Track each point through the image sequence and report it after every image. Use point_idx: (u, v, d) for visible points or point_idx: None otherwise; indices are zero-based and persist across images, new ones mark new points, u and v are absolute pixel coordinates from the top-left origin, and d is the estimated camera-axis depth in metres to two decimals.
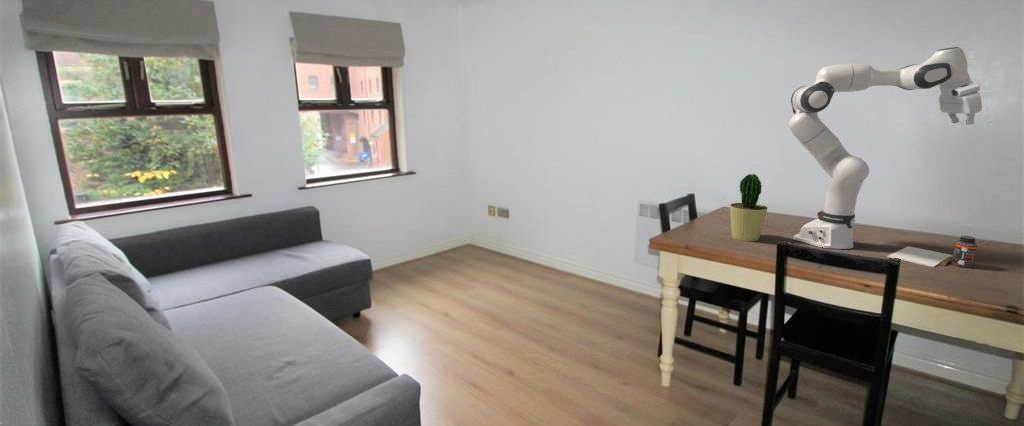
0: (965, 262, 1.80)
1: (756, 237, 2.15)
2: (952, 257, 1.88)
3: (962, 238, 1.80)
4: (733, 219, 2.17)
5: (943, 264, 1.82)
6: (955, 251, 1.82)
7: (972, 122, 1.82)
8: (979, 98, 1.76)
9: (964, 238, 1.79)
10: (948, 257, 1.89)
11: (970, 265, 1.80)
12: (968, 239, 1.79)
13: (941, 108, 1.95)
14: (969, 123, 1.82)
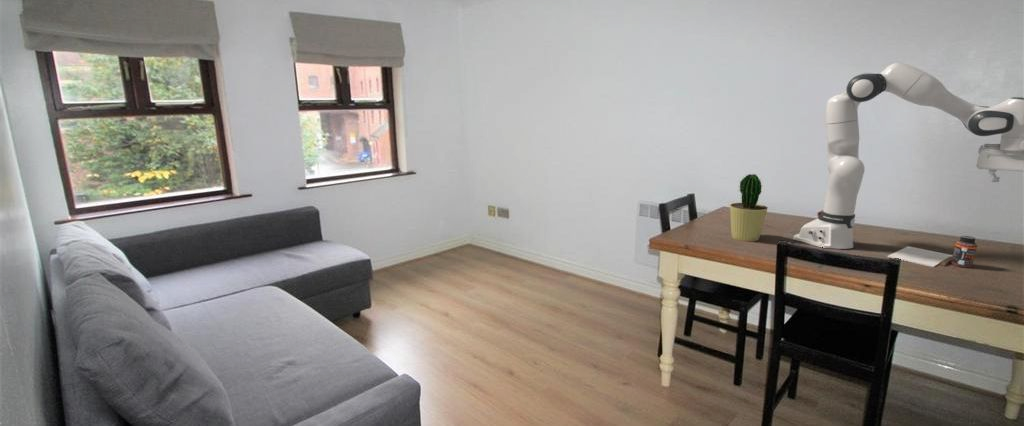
0: (965, 262, 1.80)
1: (756, 237, 2.15)
2: (952, 257, 1.88)
3: (962, 238, 1.80)
4: (733, 219, 2.17)
5: (943, 264, 1.82)
6: (955, 251, 1.82)
7: None
8: None
9: (964, 238, 1.79)
10: (948, 257, 1.89)
11: (970, 265, 1.80)
12: (968, 239, 1.79)
13: (980, 164, 1.77)
14: None
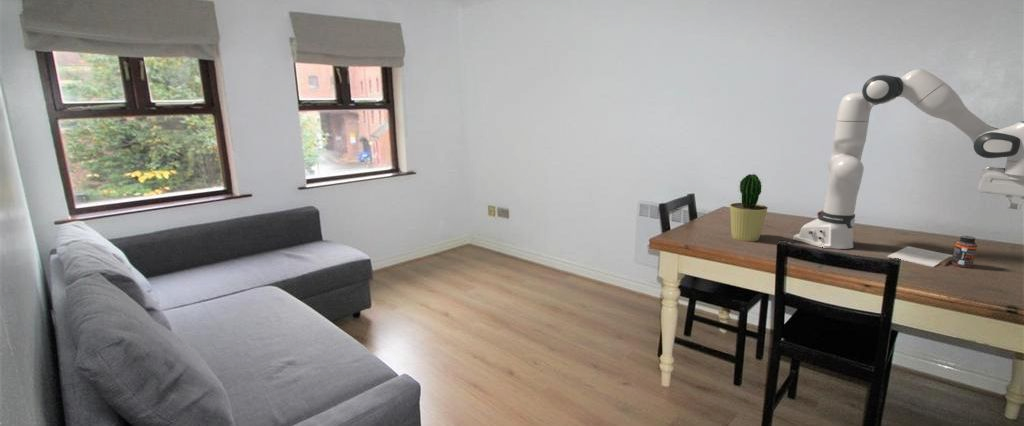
0: (965, 262, 1.80)
1: (756, 237, 2.15)
2: (952, 257, 1.88)
3: (962, 238, 1.80)
4: (733, 219, 2.17)
5: (943, 264, 1.82)
6: (955, 251, 1.82)
7: (1020, 207, 1.68)
8: None
9: (964, 238, 1.79)
10: (948, 257, 1.89)
11: (970, 265, 1.80)
12: (968, 239, 1.79)
13: (982, 187, 1.73)
14: (1019, 208, 1.67)
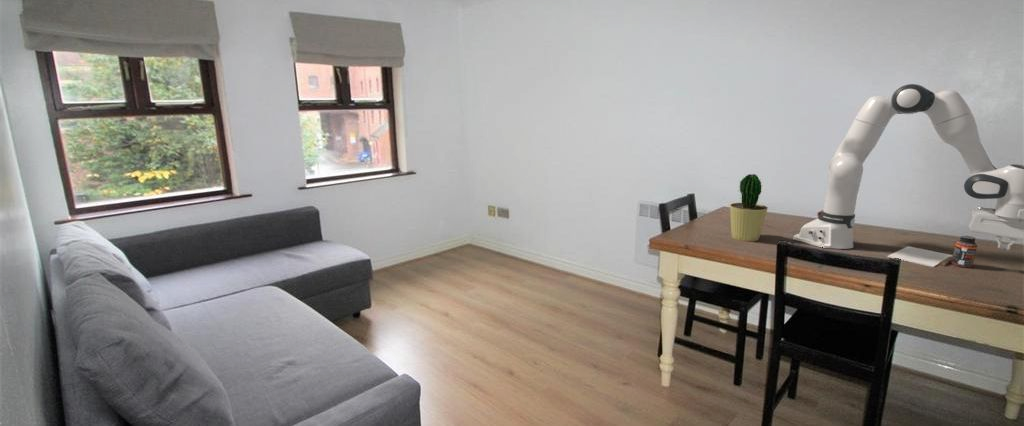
0: (965, 262, 1.80)
1: (756, 237, 2.15)
2: (952, 257, 1.88)
3: (962, 238, 1.80)
4: (733, 219, 2.17)
5: (943, 264, 1.82)
6: (955, 251, 1.82)
7: (1009, 248, 1.71)
8: None
9: (964, 238, 1.79)
10: (948, 257, 1.89)
11: (970, 265, 1.80)
12: (968, 239, 1.79)
13: (973, 227, 1.77)
14: (1009, 248, 1.71)
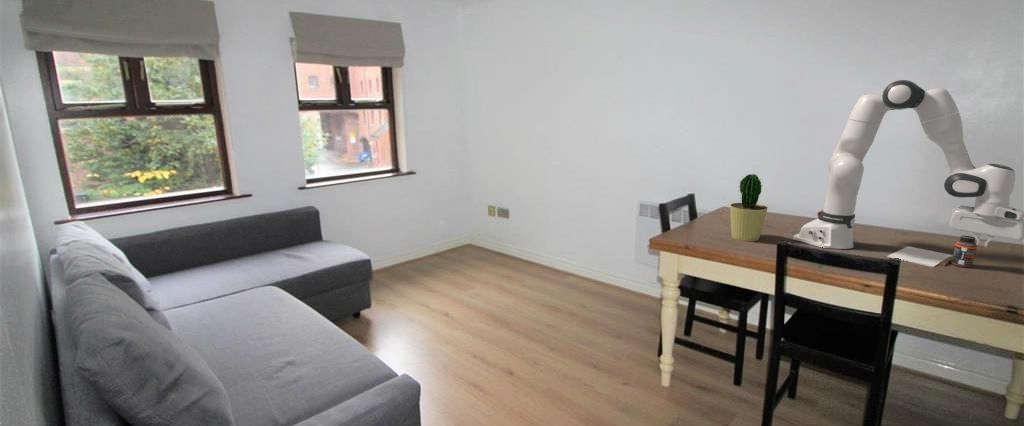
0: (965, 262, 1.80)
1: (756, 237, 2.15)
2: None
3: (962, 238, 1.80)
4: (733, 219, 2.17)
5: (943, 264, 1.82)
6: (955, 251, 1.82)
7: (987, 245, 1.76)
8: None
9: (964, 238, 1.80)
10: (948, 257, 1.89)
11: (970, 265, 1.80)
12: (968, 239, 1.79)
13: (953, 224, 1.81)
14: (986, 245, 1.75)
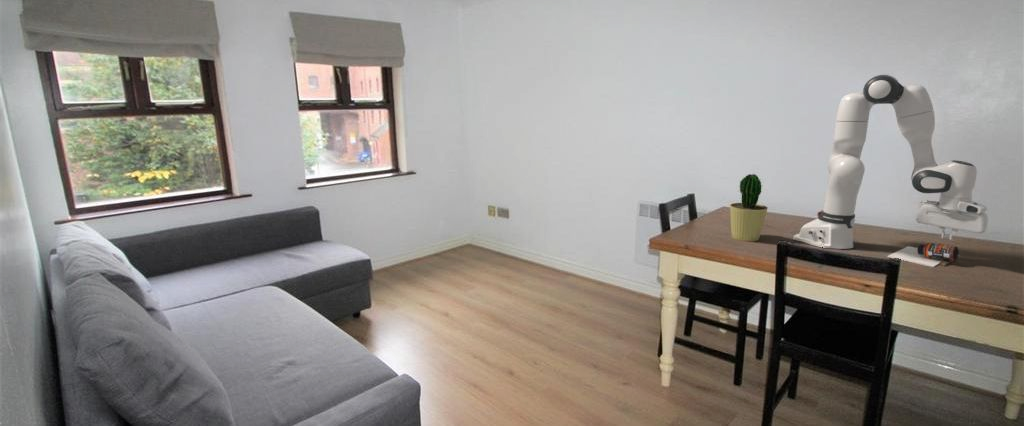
0: (946, 252, 1.83)
1: (756, 237, 2.15)
2: None
3: (919, 253, 1.91)
4: (733, 219, 2.17)
5: (943, 264, 1.82)
6: (936, 258, 1.87)
7: None
8: (987, 219, 1.76)
9: (918, 252, 1.91)
10: None
11: (951, 248, 1.82)
12: (918, 250, 1.91)
13: (920, 219, 1.90)
14: (951, 238, 1.84)
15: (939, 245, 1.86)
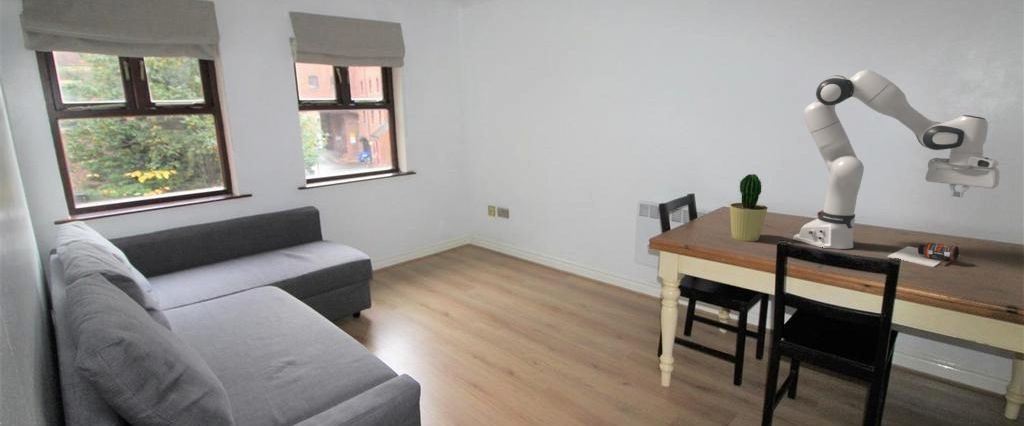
0: (946, 251, 1.83)
1: (756, 237, 2.15)
2: None
3: (920, 253, 1.91)
4: (733, 219, 2.17)
5: (943, 264, 1.82)
6: (936, 258, 1.87)
7: (962, 195, 1.80)
8: None
9: (919, 252, 1.91)
10: None
11: (952, 247, 1.83)
12: (919, 249, 1.91)
13: (929, 177, 1.86)
14: (961, 196, 1.80)
15: (940, 244, 1.86)
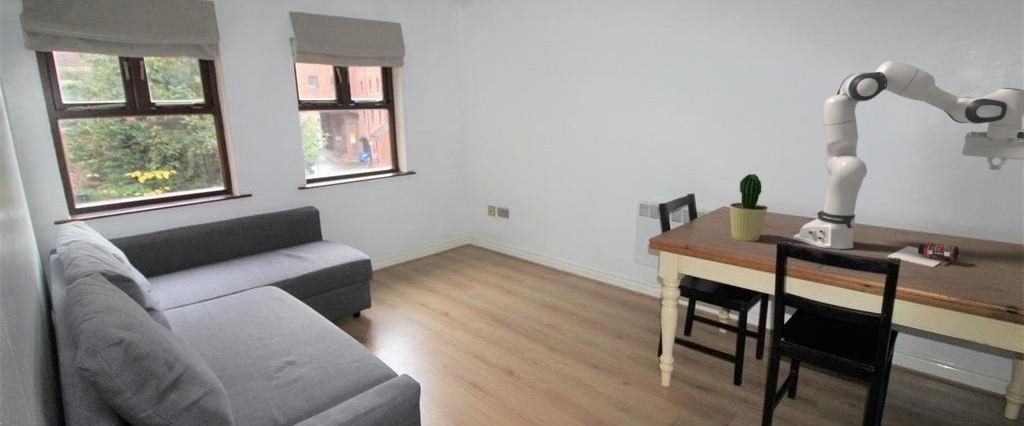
0: (946, 251, 1.83)
1: (756, 237, 2.15)
2: None
3: (920, 253, 1.91)
4: (733, 219, 2.17)
5: (943, 264, 1.82)
6: (936, 258, 1.87)
7: (1000, 168, 1.82)
8: None
9: (919, 252, 1.91)
10: None
11: (952, 247, 1.83)
12: (919, 249, 1.91)
13: (966, 151, 1.87)
14: (999, 168, 1.81)
15: (940, 244, 1.86)
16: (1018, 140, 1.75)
